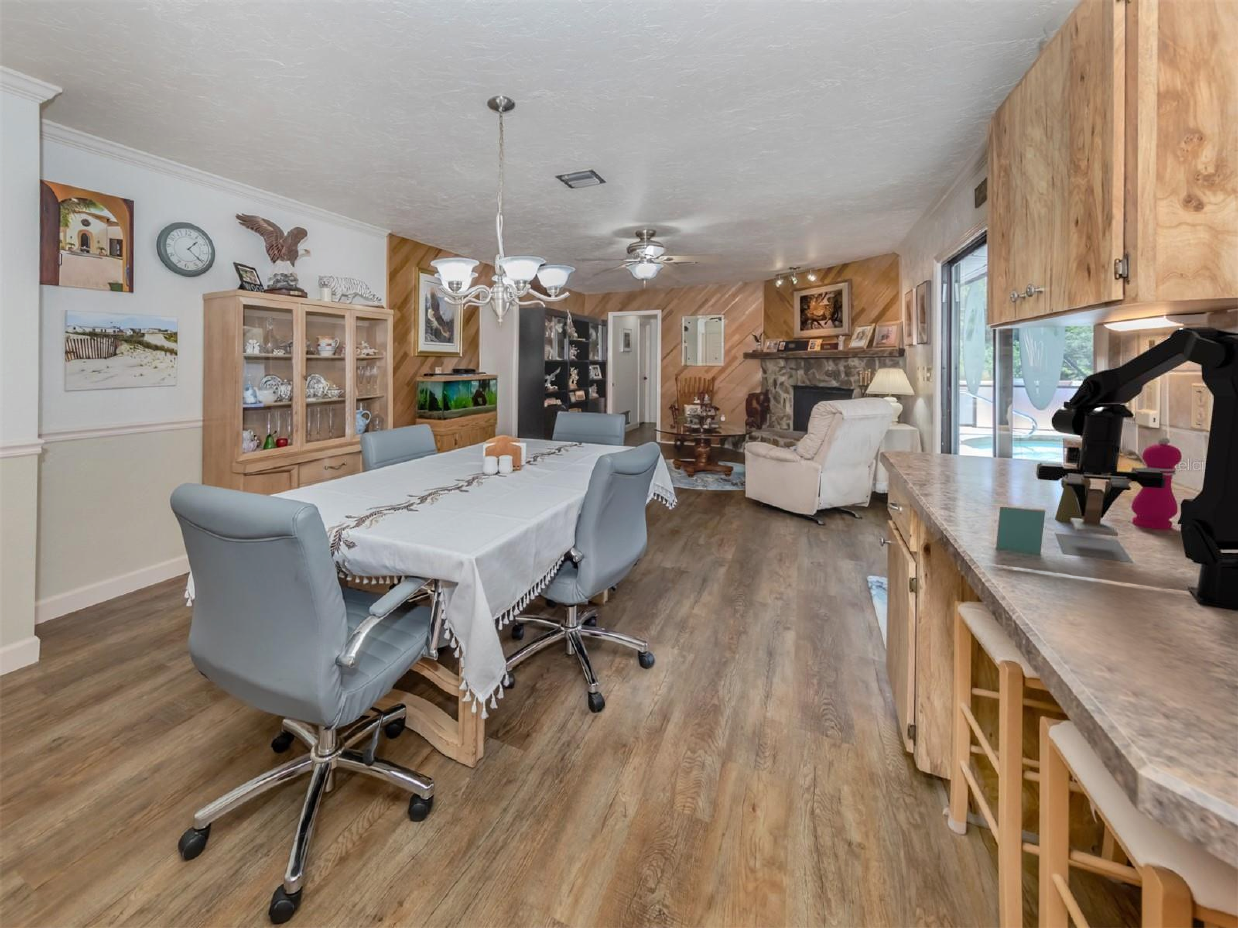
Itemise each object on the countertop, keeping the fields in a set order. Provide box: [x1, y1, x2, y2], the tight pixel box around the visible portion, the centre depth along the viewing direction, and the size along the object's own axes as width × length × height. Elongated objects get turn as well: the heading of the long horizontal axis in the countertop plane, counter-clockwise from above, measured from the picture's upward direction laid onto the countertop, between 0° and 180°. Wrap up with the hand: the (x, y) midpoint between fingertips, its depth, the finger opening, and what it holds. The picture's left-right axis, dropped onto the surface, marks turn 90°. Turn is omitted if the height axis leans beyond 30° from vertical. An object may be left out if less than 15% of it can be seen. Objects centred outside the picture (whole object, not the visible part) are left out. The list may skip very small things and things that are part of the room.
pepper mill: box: [1131, 436, 1182, 531], centre depth 119 cm, size 7×7×20 cm
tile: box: [995, 505, 1046, 555], centre depth 106 cm, size 1×7×9 cm, turn 56°
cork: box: [1054, 477, 1092, 525], centre depth 125 cm, size 6×6×11 cm
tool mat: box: [1054, 532, 1134, 564], centre depth 108 cm, size 15×10×1 cm, turn 146°
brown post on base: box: [1070, 488, 1119, 537], centre depth 107 cm, size 9×6×7 cm, turn 146°
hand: (1091, 516), depth 110 cm, fingers closed on brown post on base, 2 cm apart
